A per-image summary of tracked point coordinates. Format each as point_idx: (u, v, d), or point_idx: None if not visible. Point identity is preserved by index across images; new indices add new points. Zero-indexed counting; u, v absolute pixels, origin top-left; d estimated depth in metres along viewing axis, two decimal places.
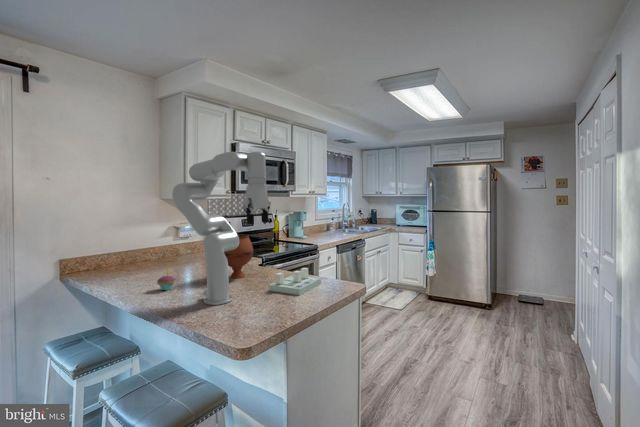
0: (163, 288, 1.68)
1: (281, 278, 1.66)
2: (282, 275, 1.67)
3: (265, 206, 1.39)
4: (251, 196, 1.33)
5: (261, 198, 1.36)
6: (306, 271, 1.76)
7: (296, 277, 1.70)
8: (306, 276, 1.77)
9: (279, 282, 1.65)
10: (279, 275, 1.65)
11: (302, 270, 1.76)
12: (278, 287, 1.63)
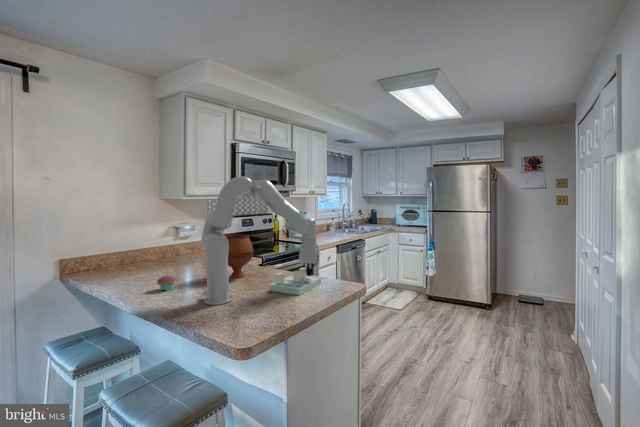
0: (163, 288, 1.68)
1: (281, 278, 1.66)
2: (282, 275, 1.67)
3: None
4: (318, 252, 1.74)
5: None
6: (305, 271, 1.77)
7: (296, 277, 1.70)
8: (305, 276, 1.77)
9: (279, 282, 1.65)
10: (279, 275, 1.65)
11: (301, 270, 1.77)
12: (278, 287, 1.63)
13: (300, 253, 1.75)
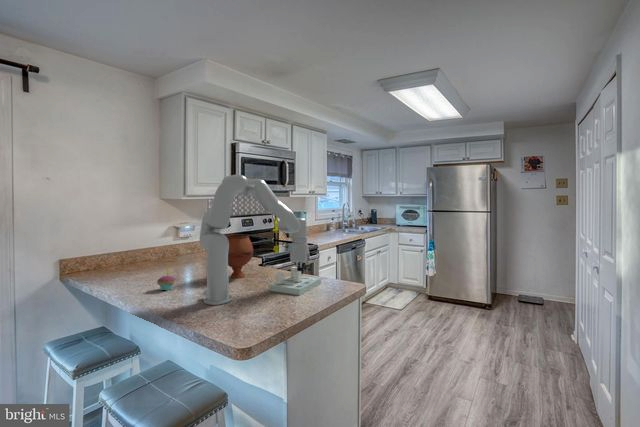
0: (163, 288, 1.68)
1: (281, 278, 1.66)
2: (282, 275, 1.67)
3: None
4: (308, 252, 1.77)
5: None
6: (296, 270, 1.79)
7: (296, 277, 1.70)
8: None
9: (279, 282, 1.65)
10: (279, 275, 1.65)
11: (292, 269, 1.79)
12: (278, 287, 1.63)
13: (291, 252, 1.78)
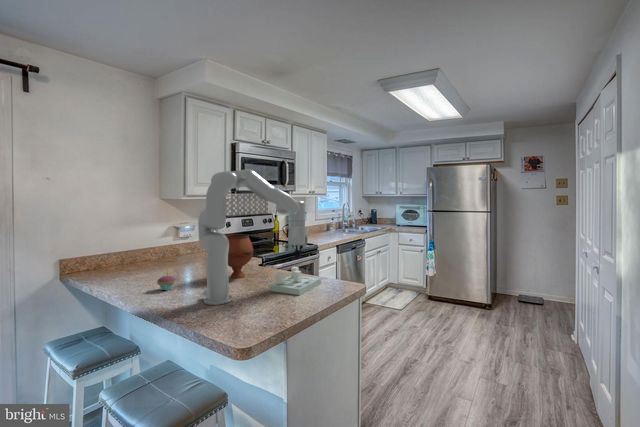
0: (163, 288, 1.68)
1: (281, 278, 1.66)
2: (282, 275, 1.67)
3: None
4: (306, 234, 1.76)
5: None
6: (296, 270, 1.79)
7: (296, 277, 1.70)
8: None
9: (279, 282, 1.65)
10: (279, 275, 1.65)
11: (292, 269, 1.79)
12: (278, 287, 1.63)
13: (289, 235, 1.77)
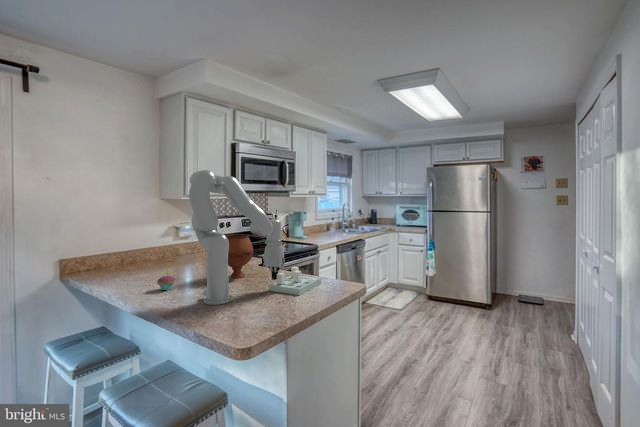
0: (163, 288, 1.68)
1: (283, 278, 1.66)
2: (283, 275, 1.66)
3: None
4: (283, 255, 1.66)
5: None
6: (296, 270, 1.79)
7: (296, 277, 1.70)
8: None
9: (280, 282, 1.65)
10: (280, 275, 1.65)
11: (292, 269, 1.79)
12: (278, 287, 1.63)
13: (265, 256, 1.67)
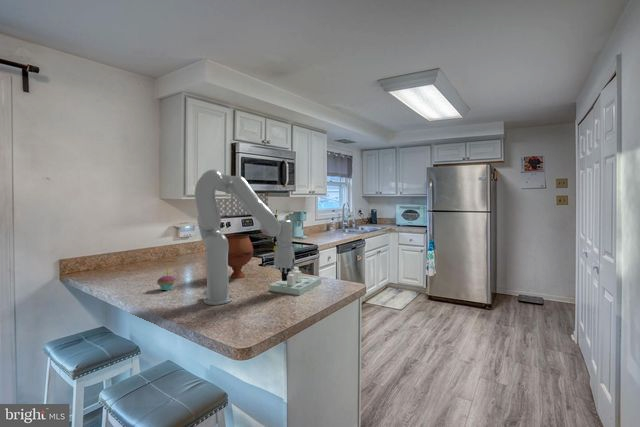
0: (163, 288, 1.68)
1: (293, 279, 1.63)
2: (294, 276, 1.63)
3: None
4: (293, 256, 1.64)
5: None
6: (296, 270, 1.79)
7: (296, 277, 1.70)
8: None
9: (291, 284, 1.62)
10: (291, 276, 1.62)
11: None
12: (278, 287, 1.63)
13: (275, 257, 1.64)
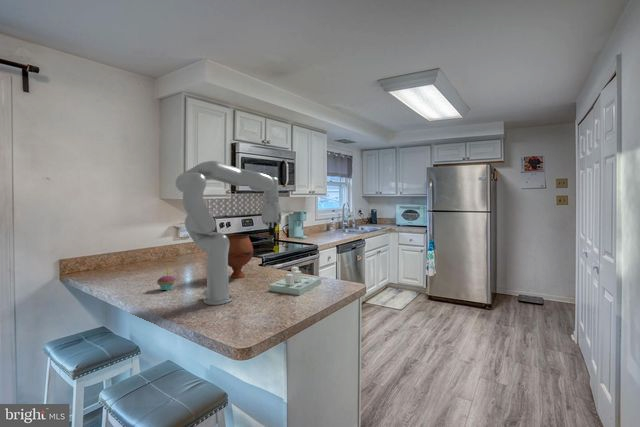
0: (163, 288, 1.68)
1: (292, 279, 1.63)
2: (292, 276, 1.64)
3: None
4: (280, 211, 1.72)
5: None
6: (296, 270, 1.79)
7: (296, 277, 1.70)
8: None
9: (289, 283, 1.63)
10: (289, 276, 1.62)
11: (292, 269, 1.79)
12: (278, 287, 1.63)
13: (262, 212, 1.73)
